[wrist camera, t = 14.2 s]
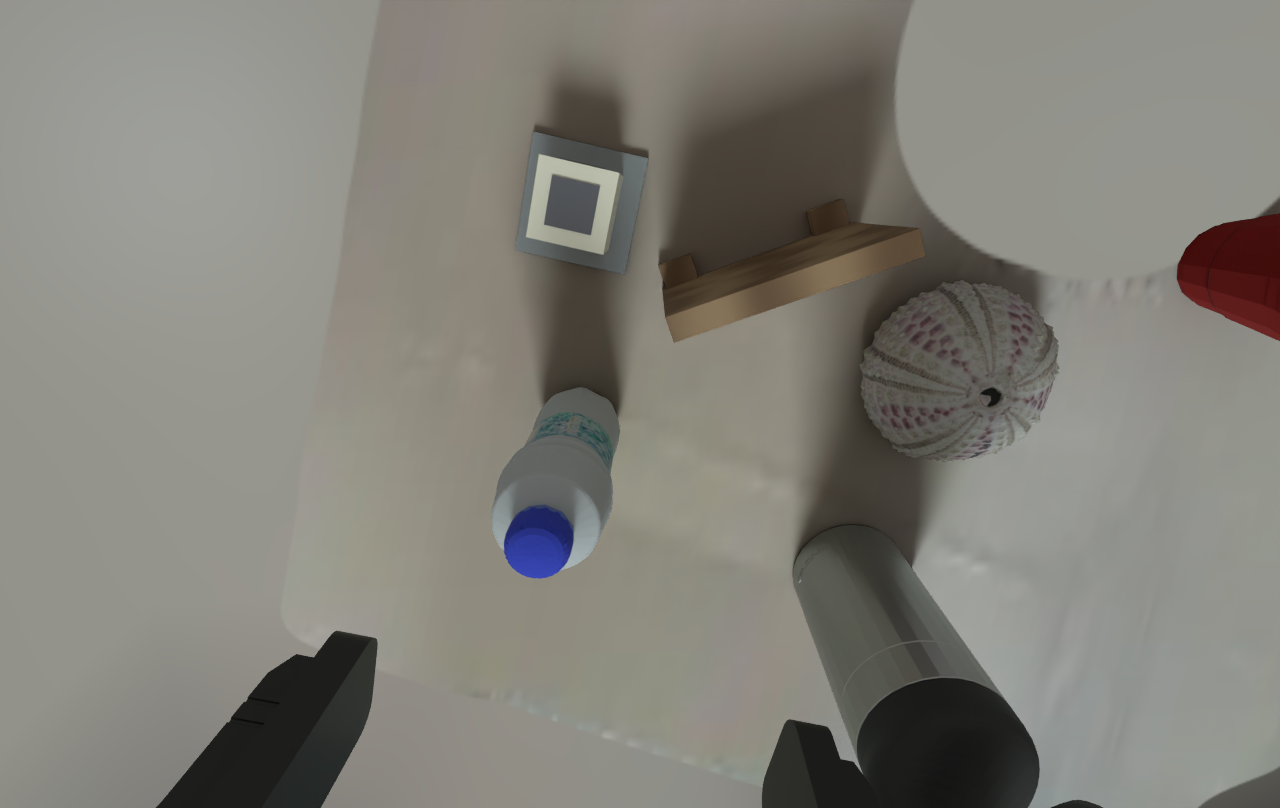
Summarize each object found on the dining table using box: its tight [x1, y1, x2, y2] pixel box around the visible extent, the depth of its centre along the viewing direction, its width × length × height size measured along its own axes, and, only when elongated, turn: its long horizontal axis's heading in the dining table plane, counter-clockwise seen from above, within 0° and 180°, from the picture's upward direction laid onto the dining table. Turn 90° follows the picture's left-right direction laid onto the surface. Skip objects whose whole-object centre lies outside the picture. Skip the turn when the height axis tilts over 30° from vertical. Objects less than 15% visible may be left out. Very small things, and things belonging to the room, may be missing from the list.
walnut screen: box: [658, 199, 925, 343], centre depth 39 cm, size 14×5×12 cm, turn 110°
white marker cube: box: [526, 154, 623, 255], centre depth 40 cm, size 5×5×5 cm
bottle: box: [491, 387, 620, 578], centre depth 39 cm, size 7×7×20 cm
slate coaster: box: [515, 132, 648, 274], centre depth 43 cm, size 8×8×1 cm
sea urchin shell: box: [859, 280, 1059, 462], centre depth 43 cm, size 13×14×8 cm
